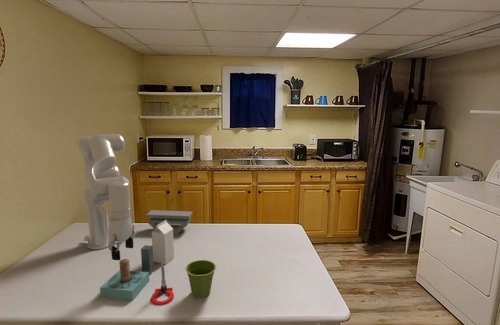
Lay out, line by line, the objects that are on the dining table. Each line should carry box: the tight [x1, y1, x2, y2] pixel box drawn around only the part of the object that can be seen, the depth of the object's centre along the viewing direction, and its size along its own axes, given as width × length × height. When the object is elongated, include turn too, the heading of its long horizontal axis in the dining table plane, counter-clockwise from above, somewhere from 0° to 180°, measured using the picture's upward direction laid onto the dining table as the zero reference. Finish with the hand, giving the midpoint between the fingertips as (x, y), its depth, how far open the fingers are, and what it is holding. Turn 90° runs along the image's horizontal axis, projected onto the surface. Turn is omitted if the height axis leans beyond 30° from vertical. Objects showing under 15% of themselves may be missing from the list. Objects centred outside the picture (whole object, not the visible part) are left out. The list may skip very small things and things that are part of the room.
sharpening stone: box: [146, 209, 193, 235], centre depth 183 cm, size 25×8×11 cm, turn 86°
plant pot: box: [184, 259, 217, 299], centre depth 122 cm, size 12×12×11 cm
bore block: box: [99, 269, 150, 301], centre depth 126 cm, size 13×13×4 cm
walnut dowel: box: [118, 258, 131, 283], centre depth 125 cm, size 4×4×12 cm
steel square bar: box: [140, 244, 155, 276], centre depth 137 cm, size 4×4×12 cm
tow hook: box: [150, 262, 175, 306], centre depth 119 cm, size 8×13×9 cm
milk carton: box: [151, 220, 175, 265], centre depth 148 cm, size 7×7×19 cm
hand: (123, 253), depth 124 cm, fingers open, 9 cm apart
